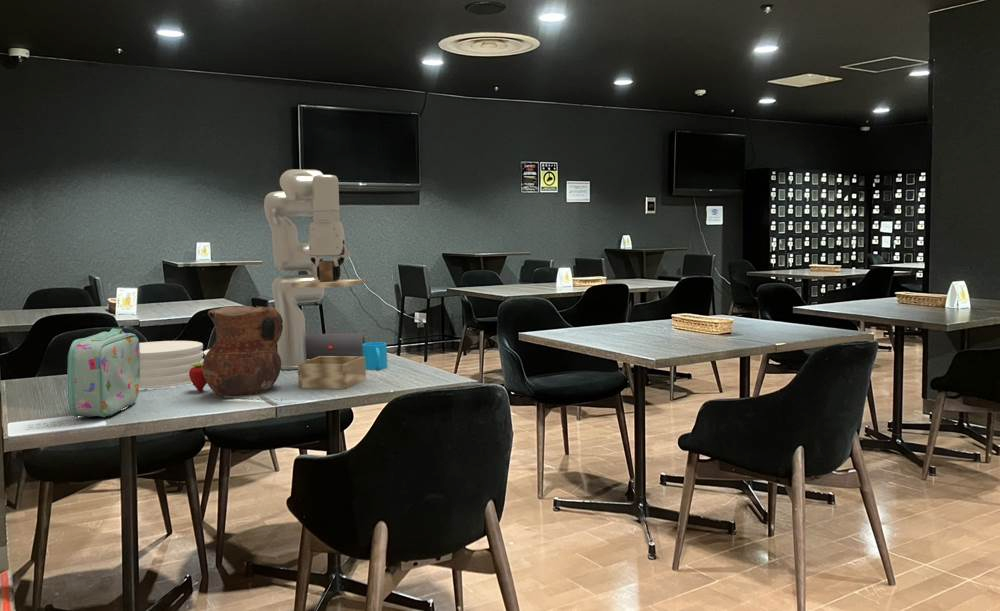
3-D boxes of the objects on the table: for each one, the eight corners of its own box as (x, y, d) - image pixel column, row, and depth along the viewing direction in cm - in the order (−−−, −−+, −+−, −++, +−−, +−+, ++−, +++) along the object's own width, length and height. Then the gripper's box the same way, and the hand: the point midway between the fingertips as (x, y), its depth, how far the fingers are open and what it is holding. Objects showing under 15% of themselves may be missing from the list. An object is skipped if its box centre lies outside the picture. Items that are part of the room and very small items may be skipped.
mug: (361, 366, 285) (360, 343, 284) (384, 365, 287) (384, 341, 287) (367, 372, 273) (366, 347, 273) (391, 370, 276) (391, 346, 275)
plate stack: (191, 372, 282) (190, 338, 281) (215, 383, 259) (213, 347, 258) (101, 381, 266) (99, 346, 265) (117, 395, 243) (115, 356, 242)
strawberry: (209, 388, 250) (207, 355, 249) (213, 392, 243) (211, 358, 242) (188, 390, 247) (186, 357, 246) (191, 394, 241) (189, 360, 240)
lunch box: (107, 401, 233) (102, 325, 231) (145, 400, 234) (141, 324, 232) (64, 423, 206) (59, 337, 205) (107, 422, 207) (102, 336, 205)
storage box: (298, 391, 243) (297, 363, 242) (320, 381, 257) (319, 356, 257) (347, 392, 240) (346, 364, 239) (366, 382, 254) (365, 356, 253)
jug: (214, 404, 225) (209, 313, 223) (195, 393, 243) (190, 307, 241) (293, 394, 238) (289, 307, 235) (270, 384, 255) (266, 302, 253)
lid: (291, 287, 240) (290, 262, 239) (315, 283, 255) (314, 260, 255) (344, 287, 236) (343, 261, 236) (364, 283, 252) (363, 259, 251)
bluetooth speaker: (298, 364, 293) (297, 336, 292) (302, 360, 302) (301, 332, 302) (363, 362, 295) (362, 334, 294) (365, 358, 304) (364, 331, 303)
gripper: (294, 218, 242) (297, 280, 244) (348, 216, 239) (350, 280, 240) (305, 218, 249) (308, 279, 251) (358, 217, 246) (360, 279, 248)
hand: (328, 279), depth 246 cm, fingers closed on lid, 4 cm apart
